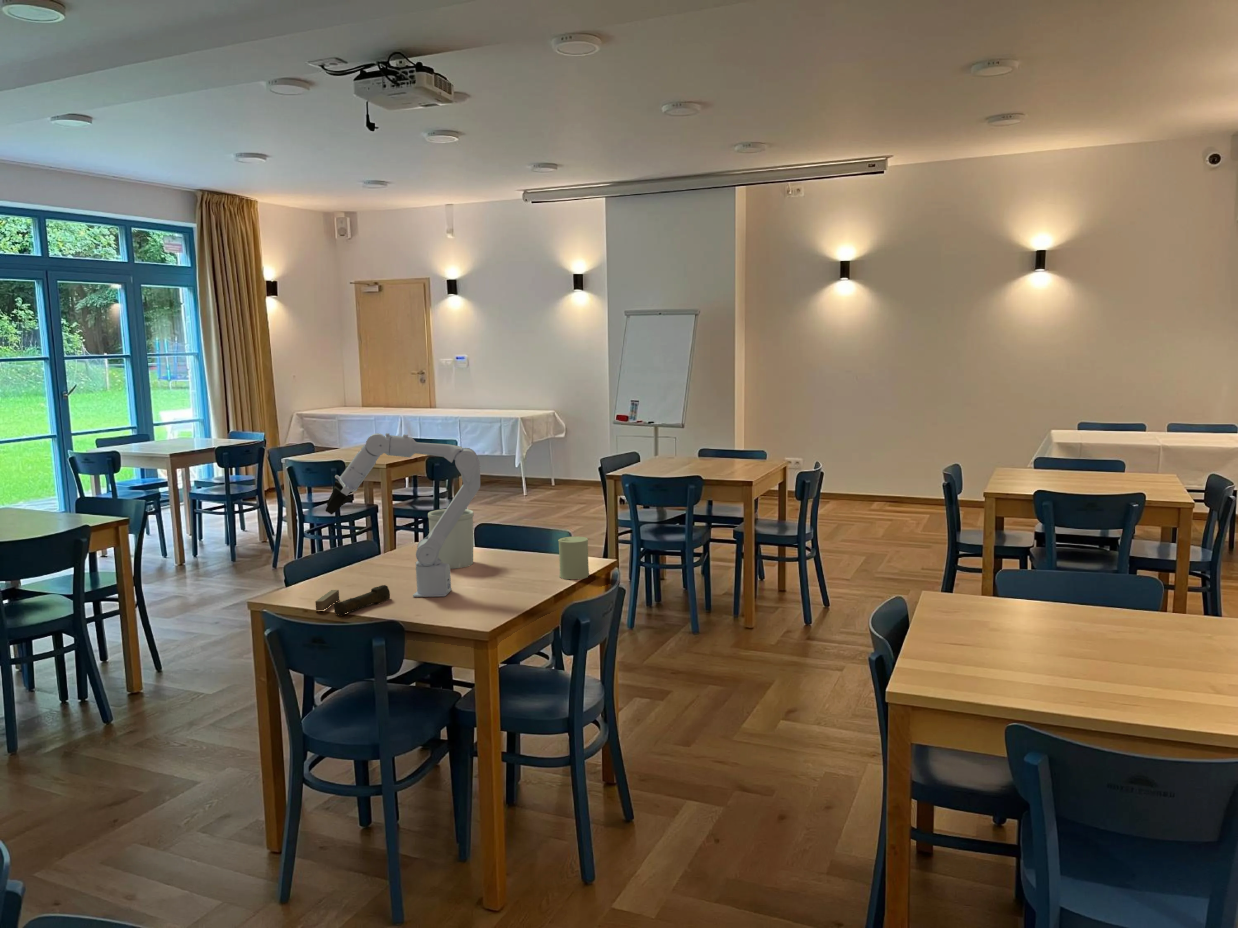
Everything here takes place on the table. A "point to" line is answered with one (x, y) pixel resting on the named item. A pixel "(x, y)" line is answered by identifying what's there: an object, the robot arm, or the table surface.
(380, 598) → the hand tool
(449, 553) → the utensil holder
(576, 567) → the can
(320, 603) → the block
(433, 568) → the robot arm
